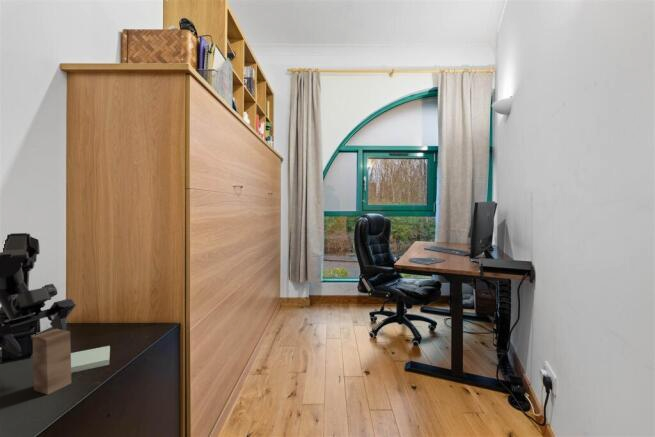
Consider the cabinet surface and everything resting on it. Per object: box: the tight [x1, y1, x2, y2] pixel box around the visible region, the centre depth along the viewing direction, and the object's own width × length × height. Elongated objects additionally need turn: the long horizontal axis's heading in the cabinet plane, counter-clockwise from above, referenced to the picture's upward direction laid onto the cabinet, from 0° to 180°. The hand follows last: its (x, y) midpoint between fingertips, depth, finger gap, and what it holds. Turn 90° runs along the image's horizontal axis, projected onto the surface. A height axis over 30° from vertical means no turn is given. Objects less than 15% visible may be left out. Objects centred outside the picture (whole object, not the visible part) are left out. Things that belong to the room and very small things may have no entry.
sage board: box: [71, 345, 111, 374], centre depth 88 cm, size 10×10×2 cm
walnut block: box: [32, 328, 72, 395], centre depth 76 cm, size 5×5×13 cm
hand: (44, 346), depth 77 cm, fingers open, 9 cm apart
